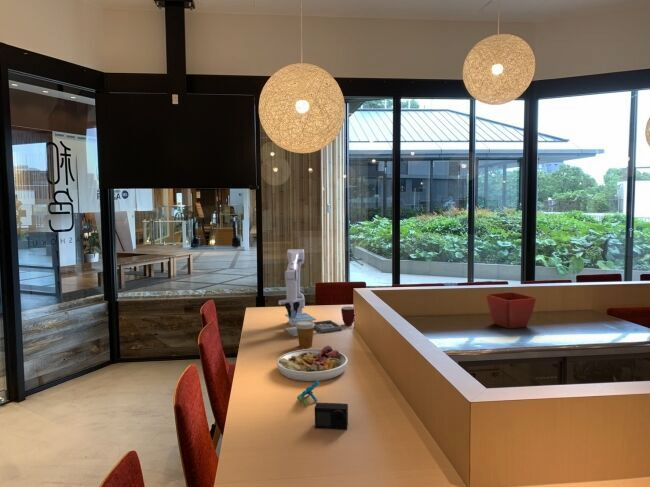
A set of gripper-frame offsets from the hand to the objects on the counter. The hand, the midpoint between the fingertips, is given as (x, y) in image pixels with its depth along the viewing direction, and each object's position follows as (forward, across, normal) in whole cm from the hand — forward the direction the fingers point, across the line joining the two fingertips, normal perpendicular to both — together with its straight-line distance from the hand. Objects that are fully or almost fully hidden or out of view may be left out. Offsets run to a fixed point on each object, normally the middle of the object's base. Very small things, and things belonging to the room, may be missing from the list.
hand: (292, 316), depth 263 cm
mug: (+9, +35, 0) cm, 36 cm away
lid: (+2, +4, 0) cm, 5 cm away
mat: (+9, +5, 0) cm, 10 cm away
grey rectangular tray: (+9, +20, 0) cm, 22 cm away
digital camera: (+10, -24, -109) cm, 112 cm away
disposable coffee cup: (+10, -2, -26) cm, 28 cm away
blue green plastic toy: (+10, -24, -88) cm, 91 cm away
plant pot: (+10, +116, -40) cm, 123 cm away
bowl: (+10, -11, -59) cm, 61 cm away
